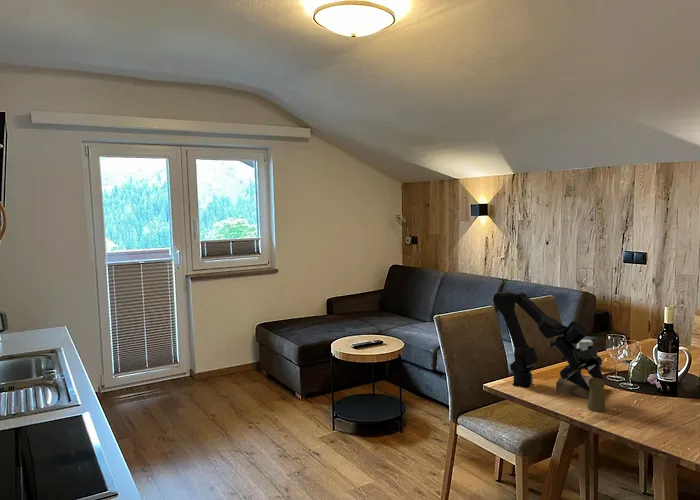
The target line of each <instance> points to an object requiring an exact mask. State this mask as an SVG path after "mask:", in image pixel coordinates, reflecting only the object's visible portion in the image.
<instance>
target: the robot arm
mask: <svg viewBox="0 0 700 500" xmlns="http://www.w3.org/2000/svg"><path fill="white" fill-rule="evenodd" d="M492 301H493V304H494V306H495V308H496V309H497V310H498V311H499V313H501V315H502V316H503V319H504V323H505V324H506V327H507V330H508V332H509V335H510V338H511V341H512V343H513V347H514V350H513V351H514V352H513V356H514V361H513V362H512V363H511V364H510V365H509V368H510V371H512V372H513V383H512V385H511V386H516V387H521V388H522V387H523V388H527V389H528V388H529V387H531V386H532V385H533V373H532V370H533V369H535V366H536V365H537V363H538V355H537V353H536V351H535V347H534V346H532V347H531V346H530V345H528V344H527V342H526V339H525V335H524V333H523V331H522V328H521V325H520V322H519V320H518V317H517V314H516V312H515V308H516V305H517V306H519V308H521V309H522V310H523V311H524V313H526V314H527V315H528V316H529V317H530V318H531V319H532V320H533V321H534V322H535V324H536V325H537V329H538V330H539V332H540V333H541V334H542V335H543V337H544V338H546V339H551V340H550V344H549V348H550V349H553V348H556V349H557V351H558V352H559V353H560V354H561V355H562V358H561V360H562V361H566V363H568V365H566V366H565V367H563V369H561V370H560V371H559V376H560V378H561V377H562V379H566V378H567V379H566V380H567V381H570V382H572V383H574V384H576V385H578V386H580V387H581V388H583V389H585V390H586V391H590V388H589V386H588V385H587V383H586V382H585V380H584V379H583V377H582V375H583V374H582V370H585V371H587V374H588V375H589V376H592V377H593V378H600V379H602V380H603V381H604V383H605V384H606V381H605V378H604V376H603V374H602V371H601V366H602V365H603V361H604V360H603V359H602V358H601V356H599V355H598V353H599V349H598V348H597V347H596V346H595V345H594V344H593V345H591V346H588V347H587V350H584V351H582V350H581V349H580V348H577V346H576V345H577V344H578V343H579V342H580V341H581V340H584V339H585V338H586V337H587V336H589V331H588V328H587V327H586V326H584V325H583V324H581V323H579V322H578V321H577V320H573V321H571V322H569V324H568V326H567V325H564V324H562V323H561V322H560V321H559V320H557V319H556V318H554V317H552V316H549V315H547V314H546V313H545V312H544V311H543V310H542V309H541V308H540V307H538V306H537V305H536V303H534V301H532V300H531V299H530V297H529V296H528V295H527V293H525V292H510V291H509V290H508V291H502V292H501V291H500V292H496V293H494V294H493V297H492ZM553 338H555V339H553Z"/></svg>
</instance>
